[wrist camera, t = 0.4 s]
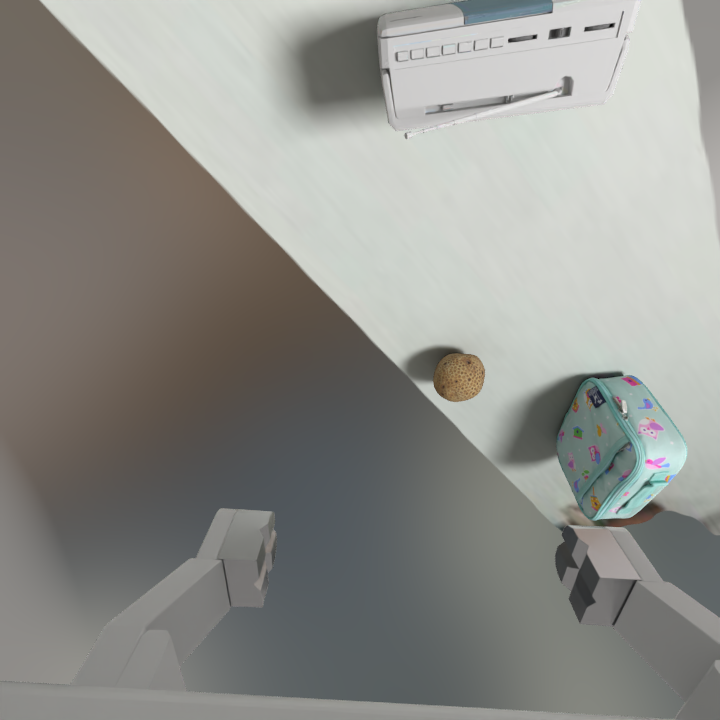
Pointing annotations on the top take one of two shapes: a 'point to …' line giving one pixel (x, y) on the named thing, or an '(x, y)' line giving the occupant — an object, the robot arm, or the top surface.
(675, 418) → the top surface
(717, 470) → the top surface
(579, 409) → the lunch box
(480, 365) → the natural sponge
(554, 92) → the stereo radio cassette player
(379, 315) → the top surface
